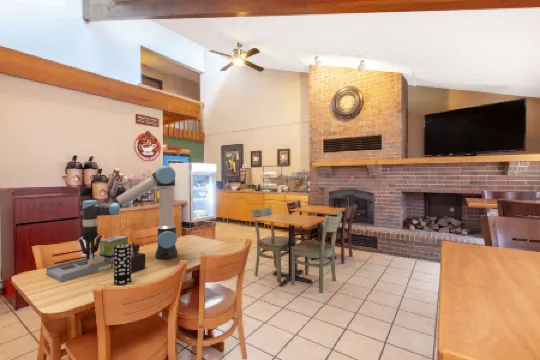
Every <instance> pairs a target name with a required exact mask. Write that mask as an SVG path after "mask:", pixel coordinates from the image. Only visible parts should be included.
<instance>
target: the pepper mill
mask: <svg viewBox="0 0 540 360" xmlns="http://www.w3.org/2000/svg"><path fill="white" fill-rule="evenodd" d="M140 248H141V245H140V244H139V243H135V242H132V244H131V274H133V273H136V272H139V271H142V270H144V269H146V253H143V252H140V250H141V249H140Z"/></svg>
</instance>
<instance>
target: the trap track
mask: <svg viewBox="0 0 540 360" xmlns="http://www.w3.org/2000/svg"><path fill="white" fill-rule="evenodd" d="M98 256H100V255H99V254H96V253H94V257H98ZM101 257H103V256H101ZM45 268H46V275H47V276H49V277H50V278H52V279H54V280H57V281H58V280H59V281H58V282H60V281H61V283H65V282H67V280H68V281H70V280H71V281H72V280H74V279H77V278H82V277H84V276H88V275H92V274H94V273H95V274H96V273H99V272H102V271H105V270H108V269H112V263H111V259H109V258H106V257H104V263H103V264H99V265H95V266H90V265H89V264H88V260H87V259H86V257H85V258H80V259H76V260H72V261H68V262H64V263H60V264H56V265H51V266H48V267H45Z"/></svg>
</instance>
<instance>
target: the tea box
mask: <svg viewBox="0 0 540 360" xmlns="http://www.w3.org/2000/svg"><path fill="white" fill-rule="evenodd" d="M120 244H129V236H124V235H114V236H111V237H107V238H103V239H100V243H99V248H98V252H99V254H98V255H100V256H103V257H106V258H109V259H111V264H112V263H113V264H114V246H116V245H120Z"/></svg>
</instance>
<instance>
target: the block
mask: <svg viewBox="0 0 540 360" xmlns="http://www.w3.org/2000/svg"><path fill="white" fill-rule="evenodd" d="M103 263H104V257H101V256H98V257H94V258H93V264H92V265H90V266H95V265H99V264H103Z"/></svg>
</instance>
